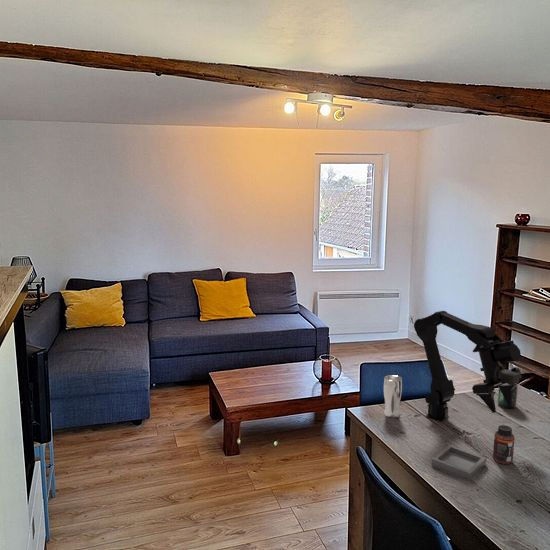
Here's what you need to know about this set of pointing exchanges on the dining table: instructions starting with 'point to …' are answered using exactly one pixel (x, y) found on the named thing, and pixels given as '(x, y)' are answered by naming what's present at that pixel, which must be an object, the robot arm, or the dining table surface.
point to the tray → (459, 462)
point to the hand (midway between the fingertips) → (502, 409)
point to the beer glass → (392, 395)
